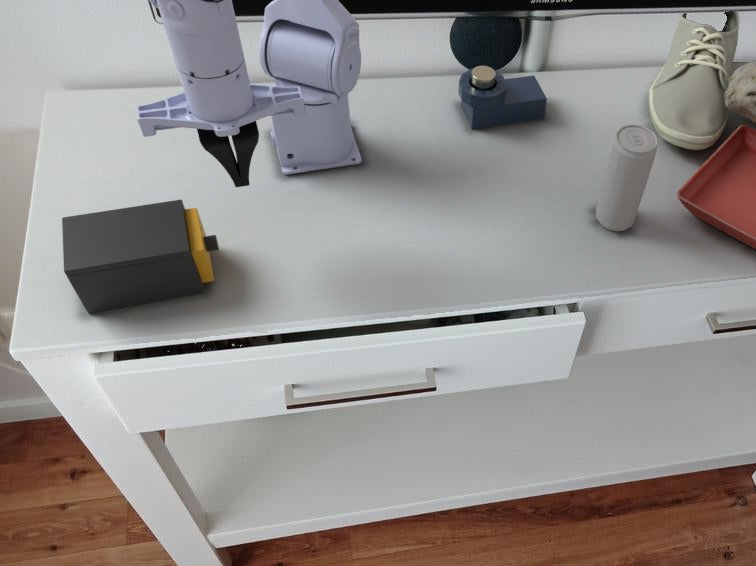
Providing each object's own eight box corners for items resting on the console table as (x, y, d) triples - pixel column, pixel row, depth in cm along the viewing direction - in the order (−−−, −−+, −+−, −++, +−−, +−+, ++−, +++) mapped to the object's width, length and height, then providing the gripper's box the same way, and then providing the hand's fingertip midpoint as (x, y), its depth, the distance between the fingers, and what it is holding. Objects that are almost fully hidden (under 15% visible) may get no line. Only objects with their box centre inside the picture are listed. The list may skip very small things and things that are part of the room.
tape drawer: (218, 237, 85) (208, 205, 81) (226, 278, 82) (216, 247, 78) (104, 256, 82) (88, 224, 78) (108, 300, 79) (91, 268, 75)
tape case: (197, 242, 85) (181, 199, 80) (205, 292, 82) (189, 250, 76) (85, 261, 82) (61, 217, 77) (88, 314, 79) (63, 271, 73)
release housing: (465, 132, 100) (467, 99, 95) (452, 104, 103) (454, 70, 98) (545, 121, 102) (550, 88, 98) (530, 93, 105) (534, 60, 101)
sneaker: (631, 150, 101) (648, 95, 94) (667, 28, 117) (684, -27, 110) (713, 173, 100) (737, 119, 93) (738, 47, 116) (759, -7, 109)
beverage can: (627, 203, 95) (651, 122, 85) (639, 232, 92) (664, 151, 82) (590, 206, 94) (609, 124, 84) (600, 235, 92) (622, 154, 82)
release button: (475, 93, 97) (475, 81, 95) (468, 79, 98) (468, 66, 97) (497, 90, 98) (498, 78, 96) (490, 76, 99) (491, 64, 98)
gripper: (123, 97, 63) (169, 219, 74) (303, 76, 67) (321, 195, 78) (117, 47, 67) (162, 170, 78) (288, 29, 70) (308, 149, 81)
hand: (241, 179), depth 78 cm, fingers closed
